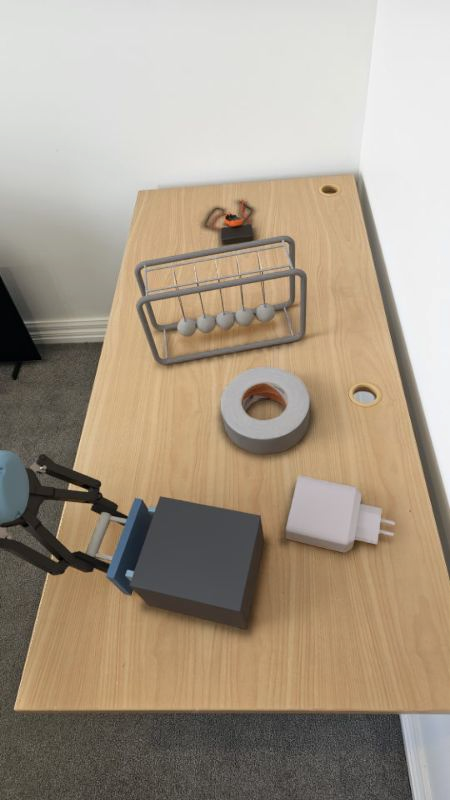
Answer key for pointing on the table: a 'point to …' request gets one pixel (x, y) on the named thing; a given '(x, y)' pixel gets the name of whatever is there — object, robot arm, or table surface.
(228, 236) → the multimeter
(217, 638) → the table surface
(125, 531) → the drawer
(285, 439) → the tape roll
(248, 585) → the cabinet
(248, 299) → the table surface
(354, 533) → the charger
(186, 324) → the newton's cradle
